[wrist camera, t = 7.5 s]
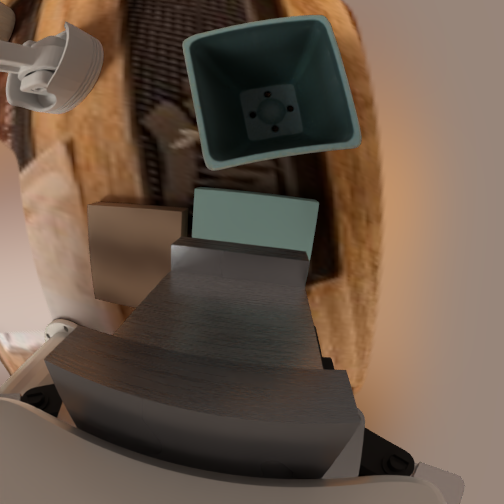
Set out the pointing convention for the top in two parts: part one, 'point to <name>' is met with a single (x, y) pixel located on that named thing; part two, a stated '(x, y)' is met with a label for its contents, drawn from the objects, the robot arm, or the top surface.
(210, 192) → the stand
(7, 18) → the canister
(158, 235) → the stand
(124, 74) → the top surface
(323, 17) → the flower pot
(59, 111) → the engine component
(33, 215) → the top surface
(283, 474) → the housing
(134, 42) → the top surface
